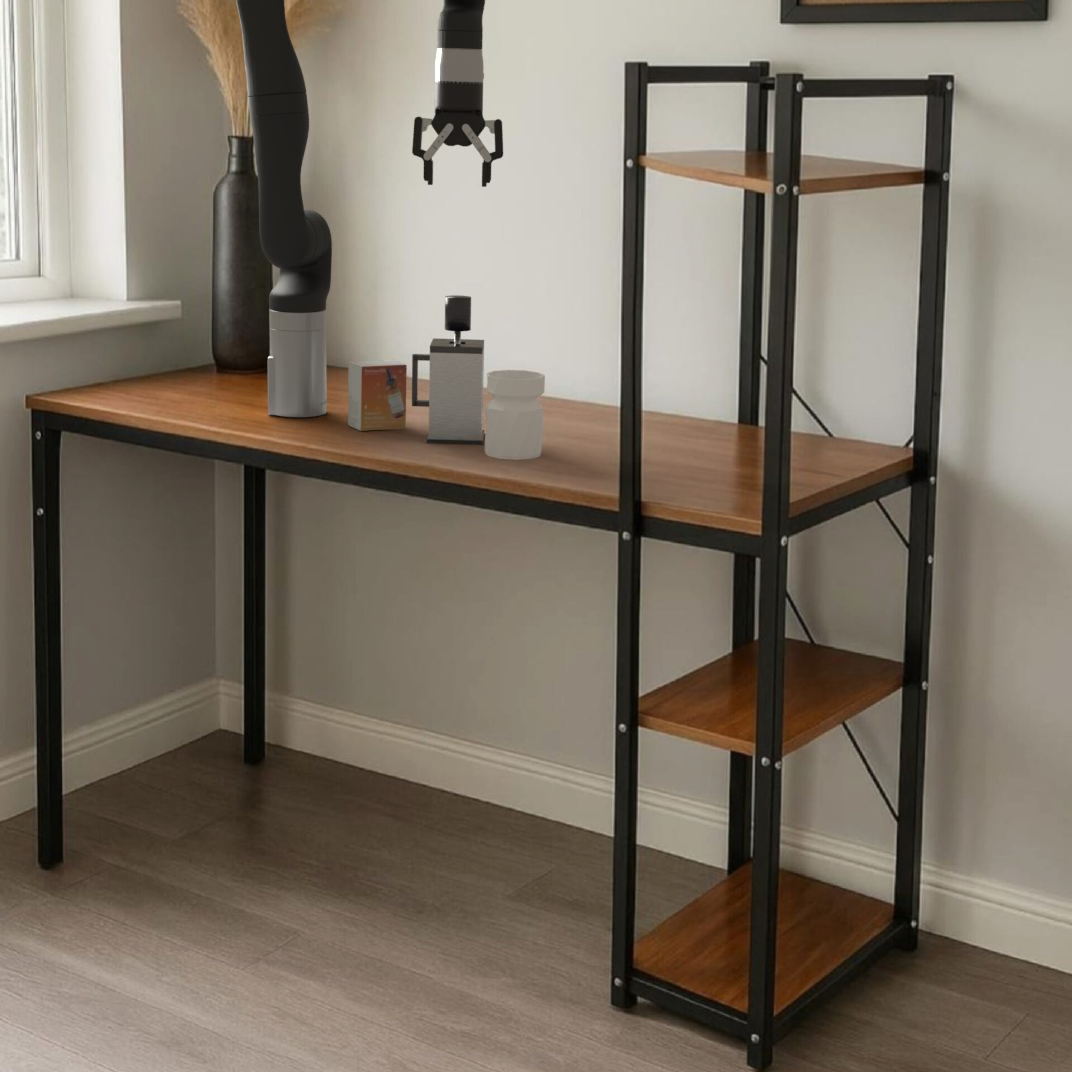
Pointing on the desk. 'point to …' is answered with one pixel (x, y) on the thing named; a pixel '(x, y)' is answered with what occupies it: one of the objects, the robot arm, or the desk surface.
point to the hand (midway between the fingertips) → (457, 185)
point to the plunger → (457, 315)
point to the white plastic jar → (514, 414)
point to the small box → (377, 395)
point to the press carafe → (453, 391)
